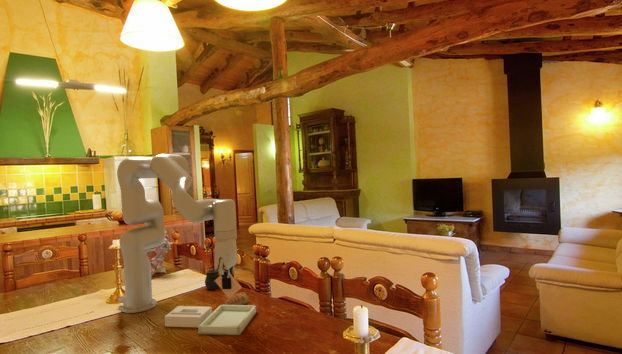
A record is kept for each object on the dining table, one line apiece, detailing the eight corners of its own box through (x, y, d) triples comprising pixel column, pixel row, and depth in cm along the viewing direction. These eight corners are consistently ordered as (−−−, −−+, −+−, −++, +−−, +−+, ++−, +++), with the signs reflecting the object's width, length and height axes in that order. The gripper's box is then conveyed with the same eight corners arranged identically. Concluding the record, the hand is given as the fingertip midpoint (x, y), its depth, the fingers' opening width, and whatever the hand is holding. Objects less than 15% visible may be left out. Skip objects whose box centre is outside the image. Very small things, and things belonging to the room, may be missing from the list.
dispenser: (165, 326, 119) (164, 315, 119) (178, 315, 128) (178, 305, 128) (200, 327, 117) (200, 316, 117) (211, 316, 126) (211, 305, 126)
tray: (198, 333, 113) (198, 326, 113) (220, 311, 130) (220, 304, 130) (239, 335, 111) (239, 327, 111) (256, 312, 128) (256, 305, 128)
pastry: (229, 310, 132) (229, 300, 132) (220, 306, 136) (219, 296, 136) (249, 302, 138) (249, 293, 138) (240, 298, 143) (239, 289, 143)
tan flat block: (229, 298, 119) (214, 280, 120) (231, 296, 121) (217, 278, 122) (239, 289, 118) (224, 271, 119) (241, 287, 121) (227, 269, 121)
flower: (119, 273, 181) (120, 233, 172) (160, 259, 199) (164, 222, 189) (136, 296, 171) (139, 255, 161) (178, 279, 188) (183, 241, 179)
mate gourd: (219, 284, 162) (218, 263, 162) (224, 288, 156) (223, 266, 156) (203, 287, 159) (202, 265, 158) (208, 292, 152) (207, 269, 152)
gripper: (224, 231, 128) (227, 280, 129) (205, 239, 112) (208, 295, 113) (243, 230, 127) (246, 280, 127) (227, 239, 111) (230, 296, 112)
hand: (228, 287), depth 120 cm, fingers closed on tan flat block, 2 cm apart
